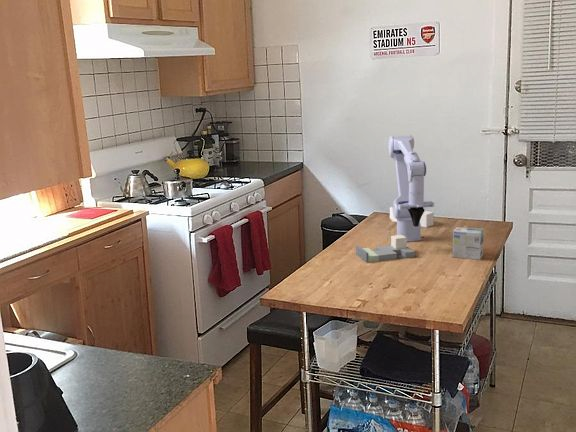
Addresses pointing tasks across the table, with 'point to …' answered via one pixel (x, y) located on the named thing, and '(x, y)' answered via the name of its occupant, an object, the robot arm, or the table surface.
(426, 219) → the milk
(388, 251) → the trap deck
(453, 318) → the table surface
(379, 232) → the table surface
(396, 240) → the block
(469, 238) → the light bulb box
